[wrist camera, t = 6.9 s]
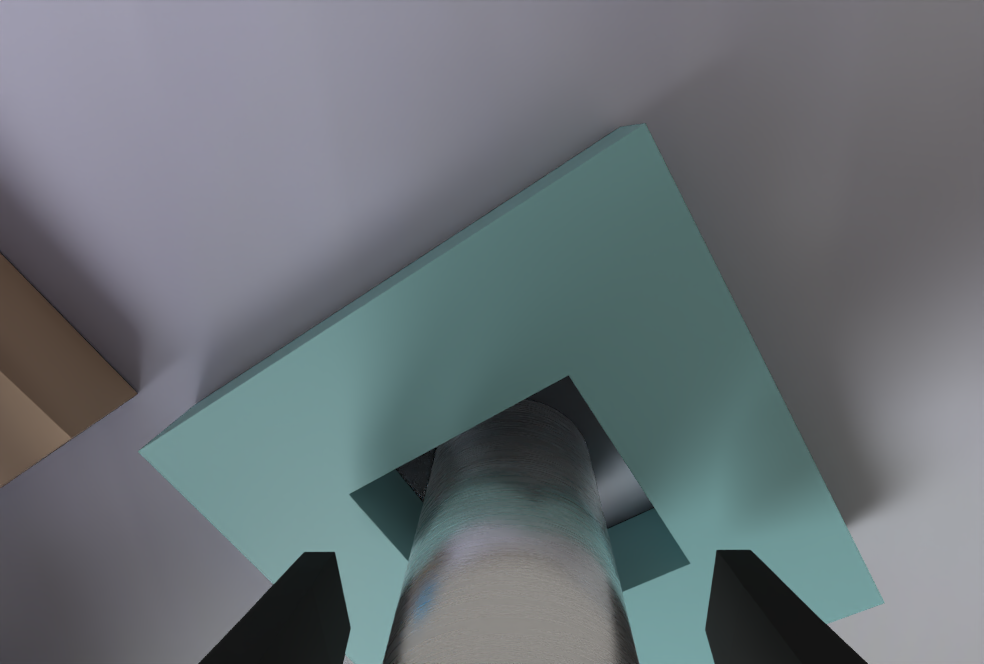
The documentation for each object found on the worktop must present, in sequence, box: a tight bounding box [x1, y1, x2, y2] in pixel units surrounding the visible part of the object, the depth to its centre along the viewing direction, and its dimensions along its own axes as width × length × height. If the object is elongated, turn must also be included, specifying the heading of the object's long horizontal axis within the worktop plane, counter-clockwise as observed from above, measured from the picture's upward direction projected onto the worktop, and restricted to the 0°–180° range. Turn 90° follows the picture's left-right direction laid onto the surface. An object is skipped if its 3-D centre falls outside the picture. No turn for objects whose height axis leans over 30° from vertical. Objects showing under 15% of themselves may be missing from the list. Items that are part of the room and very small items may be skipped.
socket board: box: [138, 123, 884, 664], centre depth 12 cm, size 12×12×2 cm
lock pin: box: [382, 399, 639, 664], centre depth 9 cm, size 5×5×8 cm
